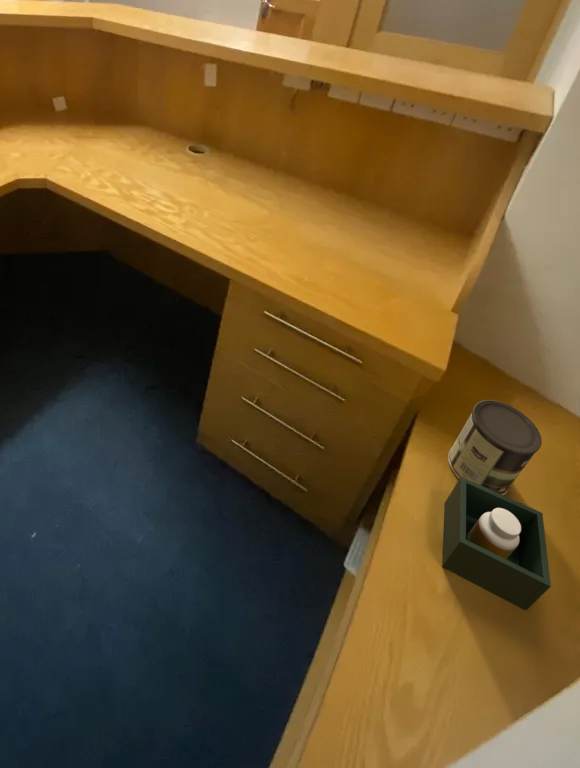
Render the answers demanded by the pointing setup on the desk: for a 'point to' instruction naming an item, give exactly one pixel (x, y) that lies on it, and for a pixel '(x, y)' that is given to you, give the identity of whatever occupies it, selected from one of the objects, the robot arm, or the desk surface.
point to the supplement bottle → (496, 532)
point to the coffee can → (494, 446)
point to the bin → (493, 573)
